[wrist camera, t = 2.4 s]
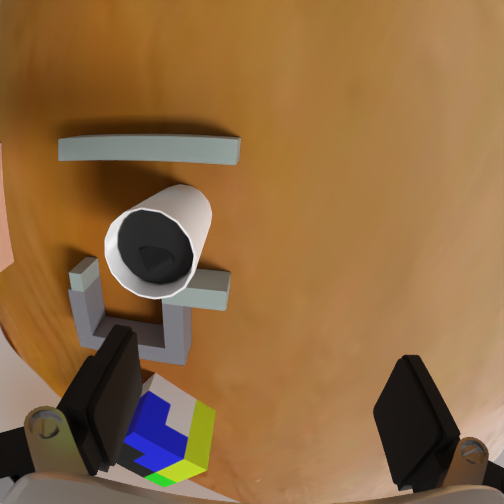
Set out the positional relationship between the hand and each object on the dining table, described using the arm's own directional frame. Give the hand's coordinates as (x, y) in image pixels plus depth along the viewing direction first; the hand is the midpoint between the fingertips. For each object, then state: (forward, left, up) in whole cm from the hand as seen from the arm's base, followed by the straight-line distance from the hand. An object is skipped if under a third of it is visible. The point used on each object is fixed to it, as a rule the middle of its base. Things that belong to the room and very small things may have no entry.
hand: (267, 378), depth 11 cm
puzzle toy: (+11, +29, -21) cm, 37 cm away
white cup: (+8, +1, -21) cm, 22 cm away
